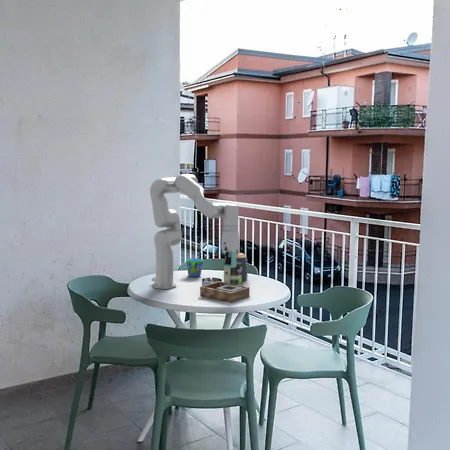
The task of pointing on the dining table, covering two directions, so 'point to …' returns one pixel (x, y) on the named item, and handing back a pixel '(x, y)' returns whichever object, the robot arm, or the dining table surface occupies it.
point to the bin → (224, 292)
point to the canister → (242, 258)
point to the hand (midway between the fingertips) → (230, 263)
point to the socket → (229, 288)
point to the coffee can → (233, 274)
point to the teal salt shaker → (232, 259)
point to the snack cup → (194, 267)
